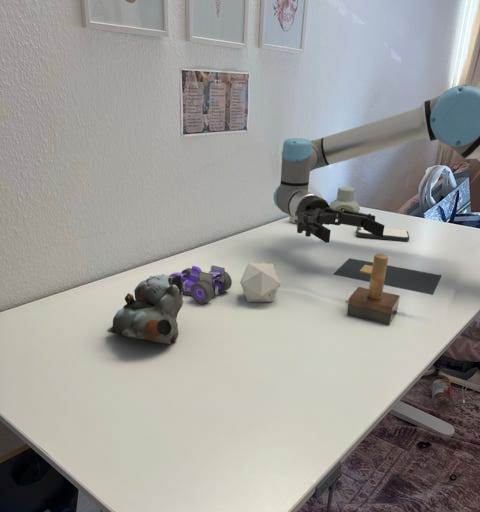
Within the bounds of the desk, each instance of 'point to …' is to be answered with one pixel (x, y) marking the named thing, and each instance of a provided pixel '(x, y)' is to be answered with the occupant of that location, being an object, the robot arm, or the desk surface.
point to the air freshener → (345, 200)
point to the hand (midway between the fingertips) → (355, 234)
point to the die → (260, 282)
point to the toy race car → (204, 282)
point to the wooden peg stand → (374, 296)
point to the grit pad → (366, 270)
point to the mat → (393, 276)
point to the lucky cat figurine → (151, 310)
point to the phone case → (385, 234)
